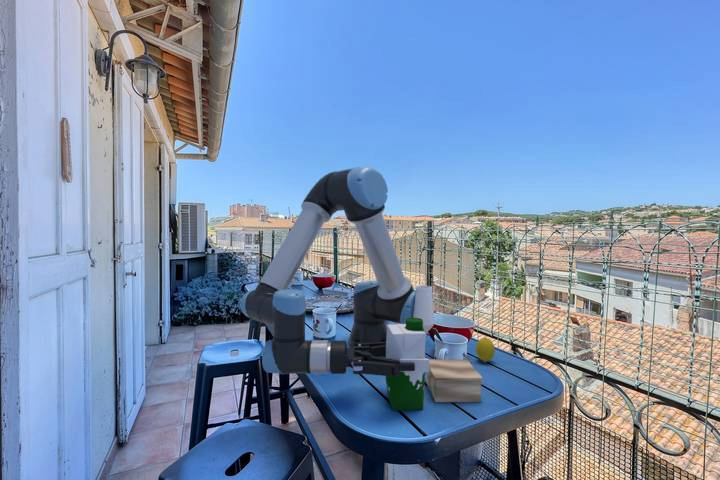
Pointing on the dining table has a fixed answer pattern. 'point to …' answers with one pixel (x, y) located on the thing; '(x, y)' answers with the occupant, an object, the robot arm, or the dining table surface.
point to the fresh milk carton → (406, 345)
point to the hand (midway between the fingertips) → (424, 357)
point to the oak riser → (453, 381)
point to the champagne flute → (424, 306)
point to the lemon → (485, 349)
